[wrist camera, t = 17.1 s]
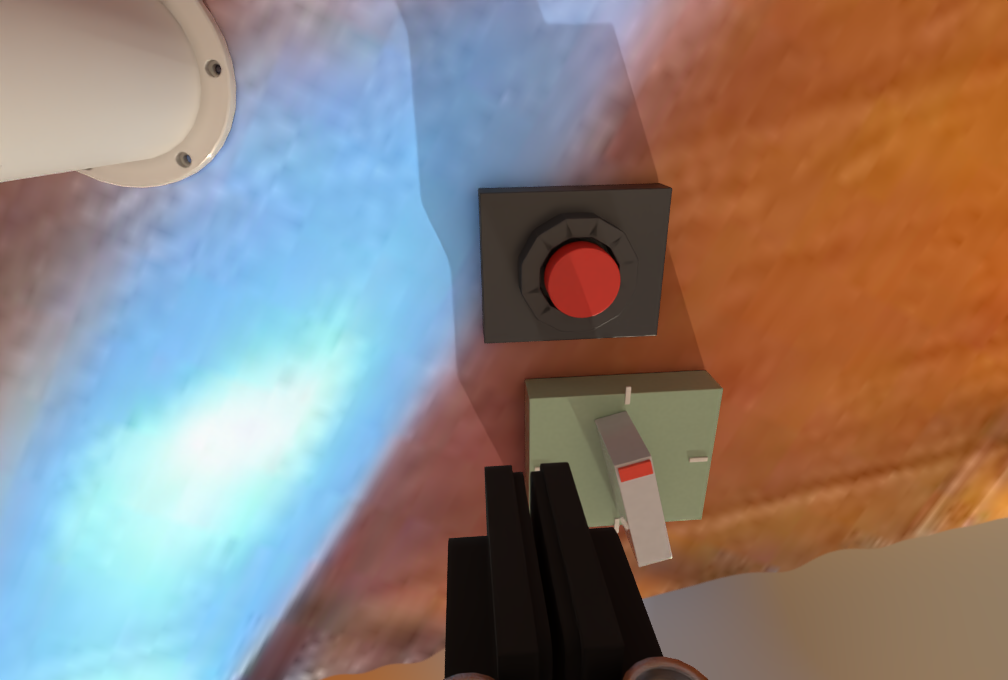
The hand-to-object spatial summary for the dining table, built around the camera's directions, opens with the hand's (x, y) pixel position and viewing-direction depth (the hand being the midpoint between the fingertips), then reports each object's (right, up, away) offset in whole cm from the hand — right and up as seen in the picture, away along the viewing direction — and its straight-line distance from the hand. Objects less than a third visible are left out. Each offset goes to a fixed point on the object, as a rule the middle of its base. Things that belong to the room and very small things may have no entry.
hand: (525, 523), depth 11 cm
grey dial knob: (+8, -6, +29) cm, 31 cm away
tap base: (+8, -4, +32) cm, 34 cm away
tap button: (+4, +8, +23) cm, 24 cm away
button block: (+4, +9, +26) cm, 28 cm away
